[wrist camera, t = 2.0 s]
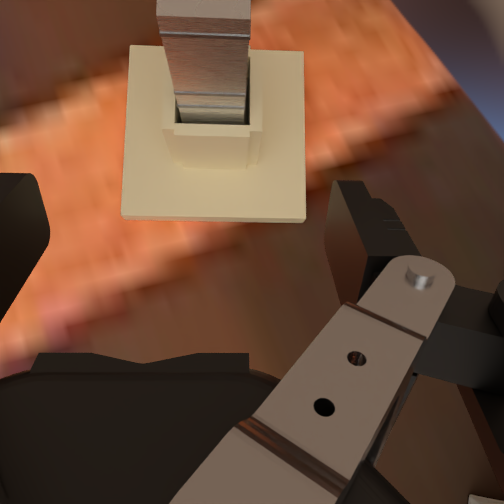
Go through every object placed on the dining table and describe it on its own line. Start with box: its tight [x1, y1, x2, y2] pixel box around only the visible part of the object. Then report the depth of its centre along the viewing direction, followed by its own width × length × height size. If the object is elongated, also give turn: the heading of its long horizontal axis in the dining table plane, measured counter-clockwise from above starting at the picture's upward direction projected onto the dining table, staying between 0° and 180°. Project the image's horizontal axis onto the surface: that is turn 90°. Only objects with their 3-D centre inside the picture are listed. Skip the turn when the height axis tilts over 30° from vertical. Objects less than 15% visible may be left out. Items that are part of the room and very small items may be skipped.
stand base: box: [121, 45, 306, 223], centre depth 32 cm, size 14×14×8 cm
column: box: [156, 0, 251, 125], centre depth 26 cm, size 4×4×15 cm
